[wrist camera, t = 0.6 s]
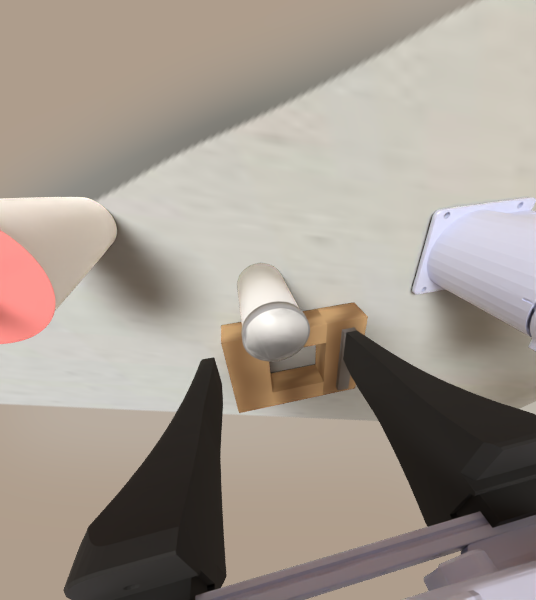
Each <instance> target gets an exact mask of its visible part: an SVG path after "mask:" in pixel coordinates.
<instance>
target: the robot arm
mask: <svg viewBox="0 0 536 600" xmlns="http://www.w3.org/2000/svg"><path fill="white" fill-rule="evenodd" d="M535 202H536V199H535V198H531V197H527V198H519V199H512V200H504V201H497V202H489V203H482V204H474V205H467V206H459V207H452V208H445V209H439V210H437V211H436V212H435V213H434V214H433V217H432V221H431V224H430V228H429V231H428V235H427V238H426V242H425V246H424V249H423V253H422V256H421V260H420V263H419V267H418V270H417V274H416V278H415V281H414V285H413V288H412V292H413V293H415V294H422V293H428V292H434V291H440V290H445V289H446V290H448V291H449V292H451V293H453V294H455V295H457V296H458V297H460V298H462V299H464V300H466V301H467V302H469V303H471V304H473V305H475V306H476V307H478V308H480V309H482V310H484V311H485V312H487V313H489V314H491V315H492V316H494V317H496V318H498V319H500V320H501V321H503V322H505V323H507V324H509V325H510V326H512V327H514V328H516V329H518V330H519V331H521V332H523V333H525V334H527V335H528V336H530V337H532V339H531V342H530V344H529V346H528V347H529V348H531V349H532V350H534V351H536V211H532V208H533V206H534V204H535ZM445 214H446V215H445ZM444 215H445V216H444ZM422 288H423V289H422ZM343 360H344V362H345V365H346V367H347V369H348V371H349V373H350V375H351V377H352V379H353V380H354V382H355V383H356V385H357V387H358V388H359V390H360V391H361V393H362V394H363V396H364V398H365V399H366V401H367V402H368V404H369V405H370V407H371V409H372V410H373V412H374V413H375V415H376V417H377V418H378V420H379V422H380V424H381V426H382V428H383V430H384V432H385V434H386V436H387V437H388V439H389V442H390V444H391V446H392V447H393V450H394V452H395V454H396V456H397V458H398V460H399V462H400V464H401V467H402V468H403V471H404V473H405V475H406V478H407V480H408V482H409V484H410V487H411V489H412V491H413V494H414V496H415V498H416V501H417V503H418V505H419V508H420V510H421V513H422V515H423V517H424V520H425V523H426V524H427V526H428V527H426V528H422V529H419V530H415V531H412V532H408V533H405V534H402V535H398V536H395V537H392V538H388V539H385V540H381V541H378V542H375V543H371V544H368V545H364V546H361V547H358V548H355V549H351V550H348V551H344V552H341V553H338V554H334V555H331V556H327V557H324V558H321V559H317V560H314V561H311V562H307V563H304V564H300V565H297V566H293V567H290V568H287V569H283V570H280V571H277V572H274V573H270V574H267V575H263V576H260V577H256V578H253V579H250V580H246V581H243V582H240V583H236V584H233V585H229V586H226V587H223V588H221V586H222V584H223V583H224V580H225V578H226V565H225V548H224V535H223V534H224V533H223V516H222V515H223V514H222V492H221V465H220V448H221V430H222V411H223V395H222V383H221V379H220V376H219V372H218V369H217V365H216V362H215V358H208V359H203V360H202V361H201V362H200V365H199V367H198V370H197V372H196V375H195V377H194V379H193V381H192V384H191V386H190V388H189V390H188V392H187V394H186V396H185V398H184V400H183V402H182V403H181V405H180V407H179V409H178V411H177V412H176V414H175V416H174V418H173V419H172V421H171V423H170V424H169V426H168V428H167V429H166V431H165V432H164V434H163V435H162V437H161V438H160V440H159V441H158V443H157V444H156V446H155V447H154V448H153V450H152V451H151V453H150V454H149V455H148V457H147V458H146V459H145V461H144V462H143V463H142V465H141V466H140V467H139V468H138V470H137V471H136V472H135V473H134V475H133V476H132V477H131V479H130V480H129V481H128V482H127V483H126V485H125V486H124V487H123V488H122V489H121V491H120V492H119V493H118V494H117V495H116V496H115V498H114V499H113V500H112V501H111V502H110V503H109V504H108V505H107V507H106V508H105V509H104V510H103V511H102V512H101V513H100V515H99V516H98V517H97V518H96V519H95V520H94V521H93V522H92V524H90V526H89V527H88V529H87V532H86V534H85V536H84V538H83V540H82V542H81V545H80V547H79V550H78V552H77V555H76V558H75V560H74V563H73V566H72V569H71V571H70V574H69V577H68V579H67V582H66V585H65V587H64V593H65V595H66V597H67V598H69V599H71V600H305V599H308V598H311V597H314V596H317V595H321V594H324V593H327V592H330V591H333V590H337V589H340V588H342V587H346V586H349V585H352V584H355V583H359V582H362V581H365V580H369V579H372V578H375V577H378V576H381V575H385V574H388V573H391V572H394V571H397V570H401V569H404V568H407V567H410V566H413V565H416V564H420V563H423V562H426V561H429V560H432V559H435V558H439V557H442V556H445V555H448V554H451V553H455V552H458V551H461V550H462V551H461V555H460V556H458V557H455V558H453V559H450V560H448V561H446V562H443V563H441V564H439V566H438V568H437V569H436V570H434V571H433V572H432V573H430V574H429V575H427V576H425V577H424V582H425V584H426V586H427V588H428V590H429V591H428V592H425V593H421V594H418V595H415V596H412V597H409V598H405V599H402V600H536V415H535V414H533V413H529V412H526V411H523V410H520V409H517V408H514V407H511V406H507V405H504V404H501V403H498V402H495V401H492V400H490V399H487V398H484V397H481V396H479V395H476V394H473V393H471V392H468V391H466V390H463V389H461V388H459V387H456V386H454V385H452V384H449V383H447V382H445V381H443V380H440V379H438V378H436V377H434V376H432V375H430V374H428V373H426V372H424V371H422V370H420V369H418V368H416V367H415V366H413V365H411V364H409V363H408V362H406V361H404V360H402V359H401V358H399V357H397V356H396V355H394V354H392V353H391V352H389V351H388V350H386V349H384V348H383V347H381V346H380V345H378V344H377V343H375V342H374V341H372V340H371V339H369V338H368V337H366V336H365V335H363V334H362V333H360V332H358V331H352V332H346V339H345V348H344V356H343Z"/></svg>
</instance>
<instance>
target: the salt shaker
mask: <svg viewBox="0 0 536 600" xmlns="http://www.w3.org/2000/svg"><path fill="white" fill-rule="evenodd" d="M237 290H238V297H239V305H240V313H241V321H242V332H241V333H242V342H243V346H244V348H245V350H246V351H247V352H248V353H249V354H250V355H251V356H252V357H254V358H256V359H259V360H262V361H280V360H283V359H286V358H289V357H291V356H293V355H294V354H296V353H297V352H298V351H300V350H301V349H302V348H303V346H304V345H305V344H306V342H307V340H308V338H309V334H310V325H309V322H308V320H307V318H306V316H305V314H304V313H303V311H302V310H301V309H300V308H299V307H298V305H297V303H296V301H295V299H294V298H293V296H292V294H291V292H290V290H289V288H288V287H287V285H286V283H285V281H284V279H283V277H282V275H281V274H280V272H279V271H278V270H277V269H276V268H275V267H274V266H272V265H270V264H266V263H257V264H253V265H251V266H249V267H247V268H246V269H245V270H243V272H242V273H241V274H240V276H239V278H238V281H237Z"/></svg>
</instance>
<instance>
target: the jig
mask: <svg viewBox="0 0 536 600" xmlns="http://www.w3.org/2000/svg"><path fill="white" fill-rule="evenodd" d="M303 313H304V314H305V316H306V318H307V320H308V322H309V325H310V334H309V338H308V340H307V342H306V344H305V345H304V346H303V347H307V346H312V345H316V360H315V365H310V366H305V367H300V368H295V369H290V370H285V371H280V372H275V373H270V366H269V361H262V360H259V359H256V358H254V357H252V356H251V355H250V354H249V353H248V352H247V351H246V350H245V348H244V346H243V342H242V333H241V332H242V322H238V323H232V324H227V325H221V344H222V348H223V352H224V356H225V360H226V364H227V367H228V371H229V375H230V379H231V383H232V387H233V391H234V395H235V399H236V403H237V407H238V411H239V413H242V412H246V411H251V410H256V409H260V408H265V407H270V406H274V405H279V404H284V403H288V402H293V401H298V400H302V399H307V398H312V397H316V396H321V395H326V394H330V393H335V392H339V391H344V390H349V389H353V388H355V386H356V383H355V382H354V380H353V379H352V377H351V375H350V373H349V371H348V369H347V367H346V365H345V362H344V360H343V356H344V348H345V339H346V332H352V331H358V332H360V333H362V334H363V335H365V329H366V324H367V318H368V317H367V315H366V314H365V313H364V312H363V311H362V310H361V309H360V308H359V307H358V306H357V305H356V304H355V303H348V304H342V305H336V306H331V307H325V308H319V309H313V310H308V311H303Z"/></svg>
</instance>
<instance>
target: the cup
mask: <svg viewBox="0 0 536 600" xmlns="http://www.w3.org/2000/svg"><path fill="white" fill-rule="evenodd" d="M116 236H117V227H116V223H115V221H114V219H113V217H112V215H111V214H110V213H109V212H108V211H107V210H106V209H105V208H104V207H103V206H102V205H100V204H99V203H97V202H95V201H93V200H91V199H88V198H84V197H46V198H45V197H43V198H5V199H0V344H6V343H13V342H18V341H22V340H25V339H28V338H30V337H32V336H34V335H36V334H38V333H39V332H41V331H42V330H43V329H44V328H45V327H46V326H47V325H48V324H49V323H50V321H51V319H52V317H53V315H54V312H55V310H56V309H57V308H58V307H59V306H60V305H61V303H62V302H63V301H64V300H65V299H66V298H67V297H68V295H69V294H70V293H71V292H72V291H73V290H74V288H75V287H76V286H77V285H78V284H79V283H80V281H81V280H82V279H83V278H84V277H85V276H86V274H87V273H88V272H89V271H90V270H91V269H92V267H93V266H94V265H95V264H96V263H97V262H98V260H99V259H100V258H101V257H102V256H103V254H104V253H105V252H106V251H107V249H108V248H109V247H110V246H111V245H112V243H113V242H114V241H115V239H116Z"/></svg>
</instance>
